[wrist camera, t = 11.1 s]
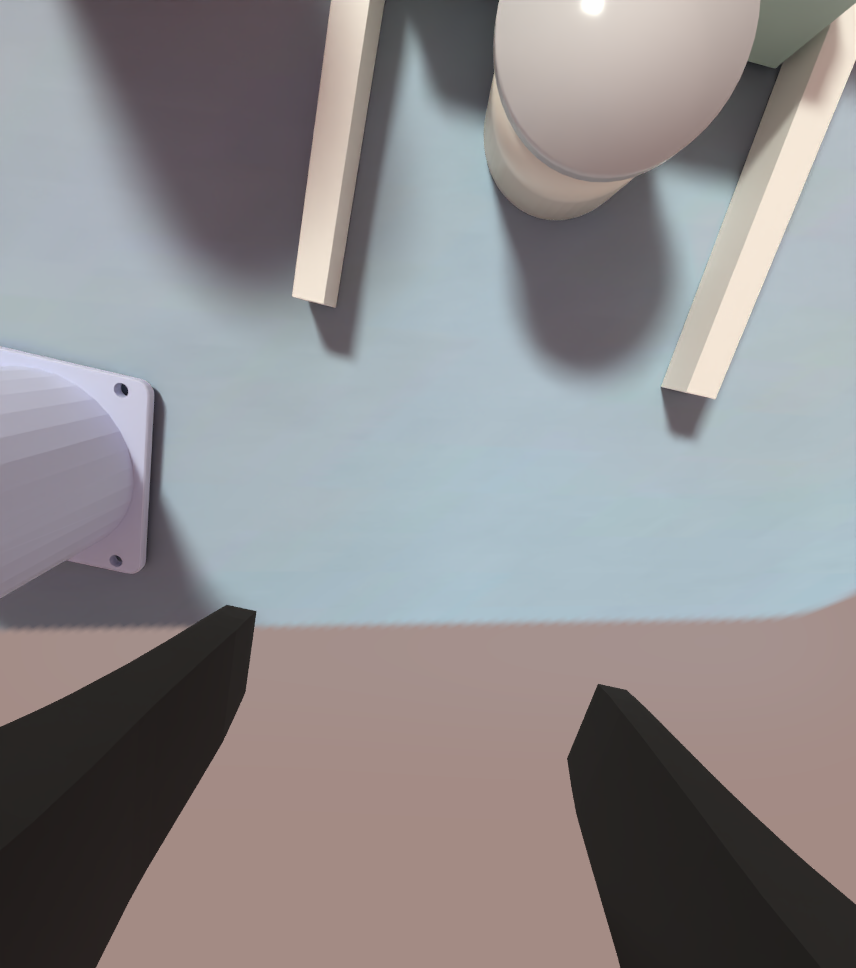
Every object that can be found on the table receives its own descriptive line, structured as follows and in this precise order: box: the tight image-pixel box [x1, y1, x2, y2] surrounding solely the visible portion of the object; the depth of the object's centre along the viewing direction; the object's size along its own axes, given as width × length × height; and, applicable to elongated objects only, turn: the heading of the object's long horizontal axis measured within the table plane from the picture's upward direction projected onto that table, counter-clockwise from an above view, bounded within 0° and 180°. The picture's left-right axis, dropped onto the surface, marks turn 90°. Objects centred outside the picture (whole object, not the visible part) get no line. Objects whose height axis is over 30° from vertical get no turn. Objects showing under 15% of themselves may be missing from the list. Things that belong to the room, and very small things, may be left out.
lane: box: [292, 0, 856, 399], centre depth 13 cm, size 14×14×4 cm
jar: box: [484, 0, 760, 220], centre depth 12 cm, size 5×5×5 cm
